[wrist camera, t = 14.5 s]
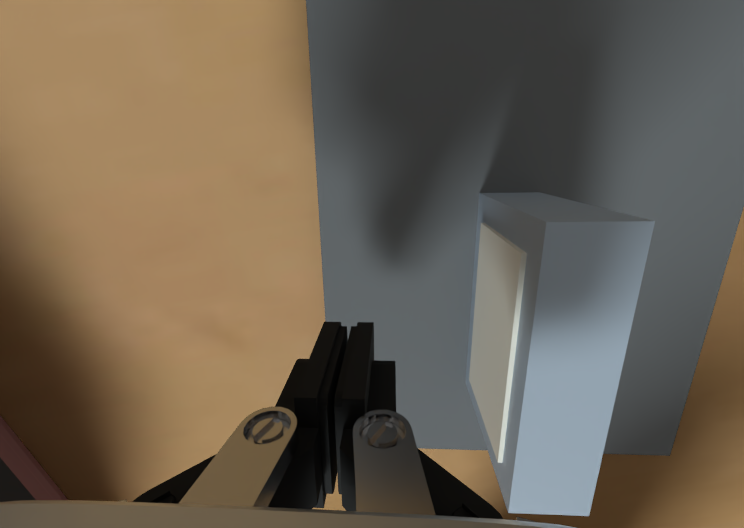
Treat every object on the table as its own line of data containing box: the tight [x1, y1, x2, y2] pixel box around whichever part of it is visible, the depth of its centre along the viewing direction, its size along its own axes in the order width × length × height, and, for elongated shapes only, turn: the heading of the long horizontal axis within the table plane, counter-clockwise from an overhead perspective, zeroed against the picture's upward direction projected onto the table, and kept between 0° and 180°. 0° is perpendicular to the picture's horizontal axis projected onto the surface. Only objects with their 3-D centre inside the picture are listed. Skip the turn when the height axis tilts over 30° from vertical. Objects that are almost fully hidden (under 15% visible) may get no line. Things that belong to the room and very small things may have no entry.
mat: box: [306, 0, 744, 456], centre depth 15 cm, size 22×17×1 cm
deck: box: [466, 192, 655, 516], centre depth 12 cm, size 9×3×6 cm, turn 1°
